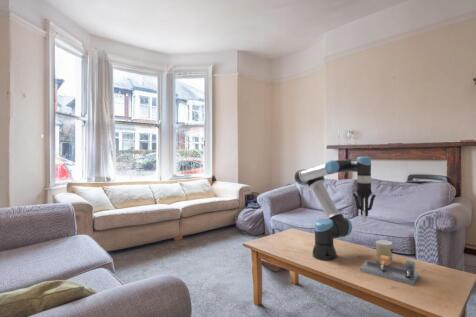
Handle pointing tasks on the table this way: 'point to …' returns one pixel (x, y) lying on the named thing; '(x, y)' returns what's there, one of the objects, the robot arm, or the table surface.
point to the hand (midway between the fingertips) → (364, 221)
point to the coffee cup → (384, 249)
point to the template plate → (392, 271)
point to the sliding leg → (384, 261)
